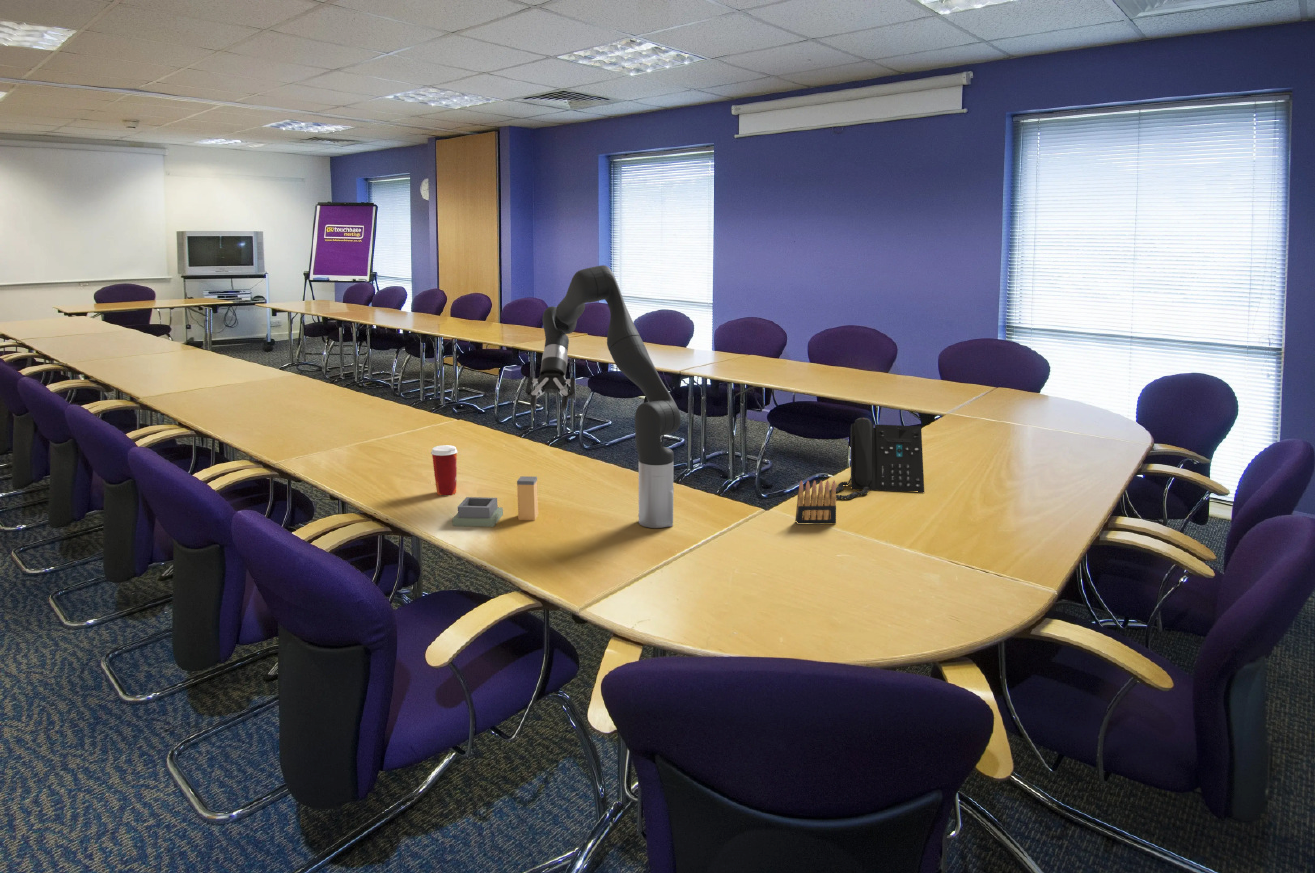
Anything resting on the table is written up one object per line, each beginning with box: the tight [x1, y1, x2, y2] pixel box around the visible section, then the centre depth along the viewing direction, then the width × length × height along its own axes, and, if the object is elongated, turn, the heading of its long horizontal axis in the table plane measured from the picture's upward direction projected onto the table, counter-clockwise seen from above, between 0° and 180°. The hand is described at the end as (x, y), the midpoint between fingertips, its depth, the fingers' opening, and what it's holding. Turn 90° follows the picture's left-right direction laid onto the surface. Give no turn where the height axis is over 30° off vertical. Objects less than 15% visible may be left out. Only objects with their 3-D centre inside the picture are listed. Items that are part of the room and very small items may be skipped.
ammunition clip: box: [794, 479, 837, 523], centre depth 216 cm, size 11×2×12 cm, turn 93°
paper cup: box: [430, 444, 458, 496], centre depth 239 cm, size 8×8×14 cm
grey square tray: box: [452, 496, 504, 528], centre depth 217 cm, size 11×10×5 cm
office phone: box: [829, 417, 925, 500], centre depth 246 cm, size 29×28×20 cm
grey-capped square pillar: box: [516, 475, 539, 521], centre depth 219 cm, size 4×4×11 cm
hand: (548, 408), depth 231 cm, fingers open, 8 cm apart
